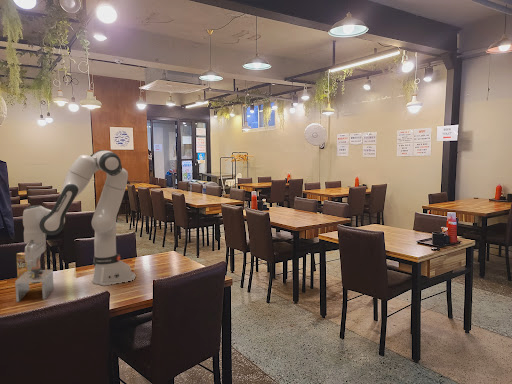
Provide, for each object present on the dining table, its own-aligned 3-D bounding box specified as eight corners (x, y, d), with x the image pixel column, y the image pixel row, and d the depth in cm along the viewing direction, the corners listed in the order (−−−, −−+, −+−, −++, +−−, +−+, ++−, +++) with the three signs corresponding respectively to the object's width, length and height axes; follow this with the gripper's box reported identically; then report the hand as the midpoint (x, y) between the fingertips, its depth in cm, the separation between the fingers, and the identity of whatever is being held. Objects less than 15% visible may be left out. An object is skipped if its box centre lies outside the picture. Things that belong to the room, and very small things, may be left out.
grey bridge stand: (53, 288, 184) (52, 269, 183) (45, 299, 169) (44, 279, 168) (27, 290, 180) (26, 271, 179) (16, 302, 166) (15, 281, 165)
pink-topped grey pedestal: (43, 280, 180) (42, 259, 179) (40, 283, 176) (39, 261, 174) (33, 280, 179) (32, 259, 177) (30, 283, 174) (29, 262, 173)
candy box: (17, 281, 194) (15, 253, 192) (25, 278, 197) (23, 251, 196) (27, 283, 190) (26, 255, 188) (35, 281, 194) (33, 253, 192)
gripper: (35, 242, 166) (36, 271, 167) (47, 233, 185) (48, 259, 187) (19, 243, 164) (21, 272, 165) (33, 234, 183) (35, 260, 185)
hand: (36, 265), depth 176 cm, fingers closed on pink-topped grey pedestal, 3 cm apart
